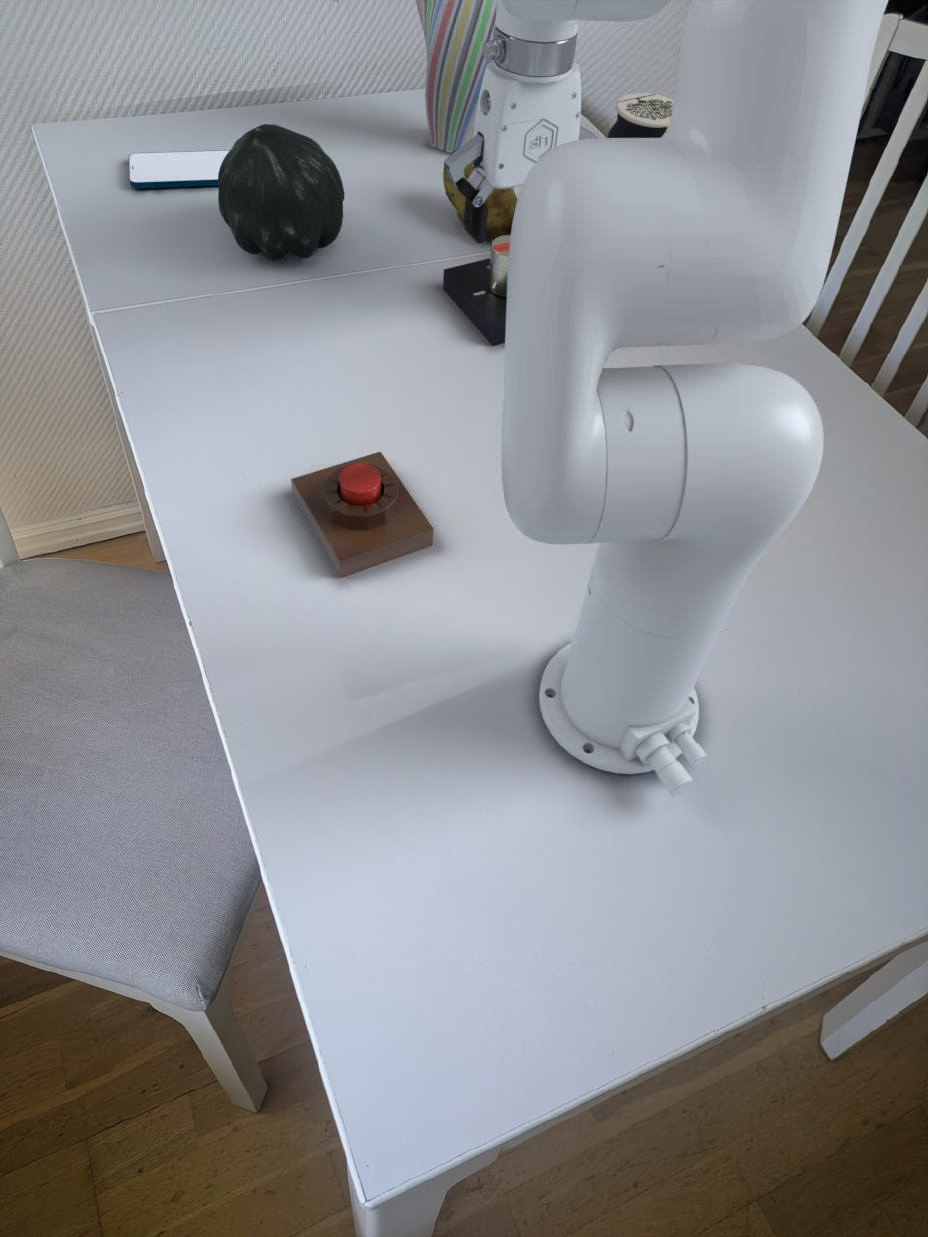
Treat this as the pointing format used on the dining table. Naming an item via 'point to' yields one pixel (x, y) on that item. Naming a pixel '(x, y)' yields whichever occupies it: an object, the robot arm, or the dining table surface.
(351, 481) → the button
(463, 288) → the hob panel
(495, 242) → the hob knob
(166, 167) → the smartphone
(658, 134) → the travel mug
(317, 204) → the squash
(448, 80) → the vase
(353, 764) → the dining table surface
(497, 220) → the potato
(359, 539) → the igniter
